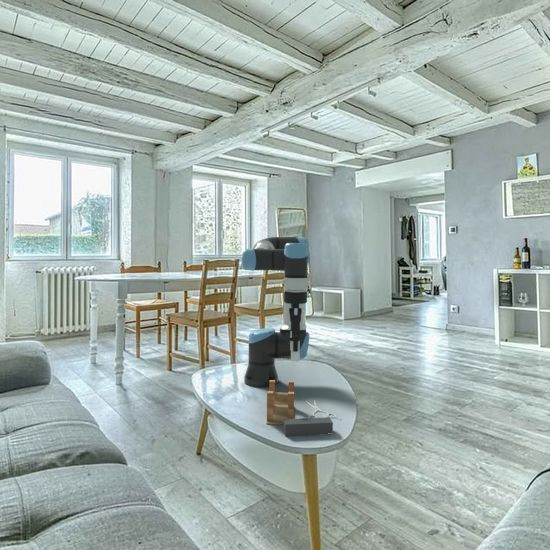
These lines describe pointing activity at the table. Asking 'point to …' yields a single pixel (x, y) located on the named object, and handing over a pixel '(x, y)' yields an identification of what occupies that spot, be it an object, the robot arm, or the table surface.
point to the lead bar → (307, 426)
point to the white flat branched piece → (319, 410)
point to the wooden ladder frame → (279, 404)
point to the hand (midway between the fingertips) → (294, 355)
